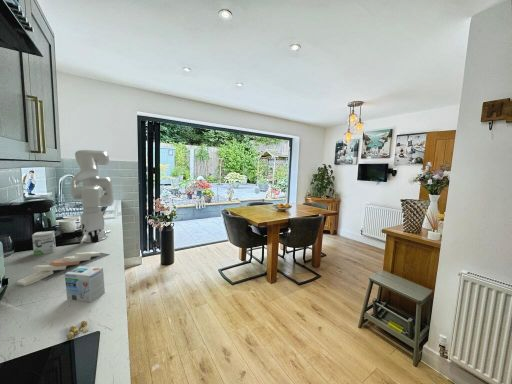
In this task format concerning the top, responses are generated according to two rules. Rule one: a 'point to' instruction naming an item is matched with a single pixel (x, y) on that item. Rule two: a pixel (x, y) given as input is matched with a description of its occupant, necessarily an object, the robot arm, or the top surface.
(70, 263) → the terracotta domino
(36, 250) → the ink box
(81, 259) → the domino
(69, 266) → the mat
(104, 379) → the top surface
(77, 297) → the light bulb box
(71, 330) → the dice set
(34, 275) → the domino
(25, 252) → the top surface
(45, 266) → the domino
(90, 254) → the domino
